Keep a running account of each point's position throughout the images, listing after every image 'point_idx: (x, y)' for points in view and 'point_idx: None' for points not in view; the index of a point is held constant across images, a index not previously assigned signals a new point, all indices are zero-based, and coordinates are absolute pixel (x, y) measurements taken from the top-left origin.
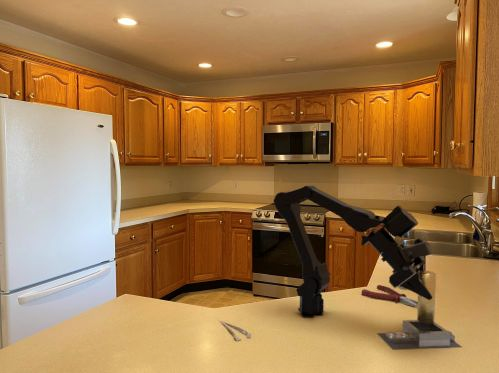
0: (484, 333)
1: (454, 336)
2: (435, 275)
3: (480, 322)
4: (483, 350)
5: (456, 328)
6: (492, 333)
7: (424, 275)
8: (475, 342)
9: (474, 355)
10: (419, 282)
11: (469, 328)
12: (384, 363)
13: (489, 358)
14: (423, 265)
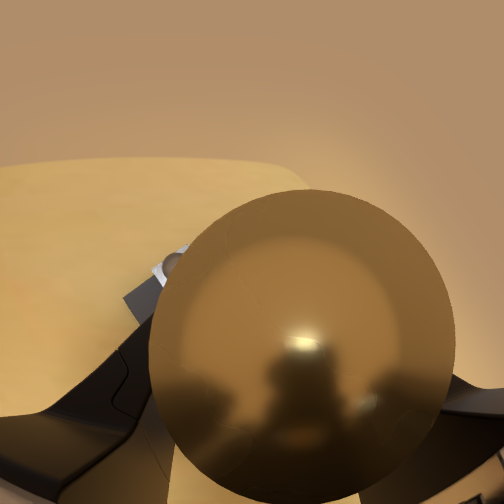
0: (70, 180)
1: (187, 245)
2: (345, 205)
3: (6, 194)
4: (192, 180)
5: (60, 251)
6: (64, 164)
7: (440, 361)
8: (144, 198)
9: (243, 201)
10: (451, 383)
11: (48, 216)
12: None
13: (239, 169)
14: (18, 474)
